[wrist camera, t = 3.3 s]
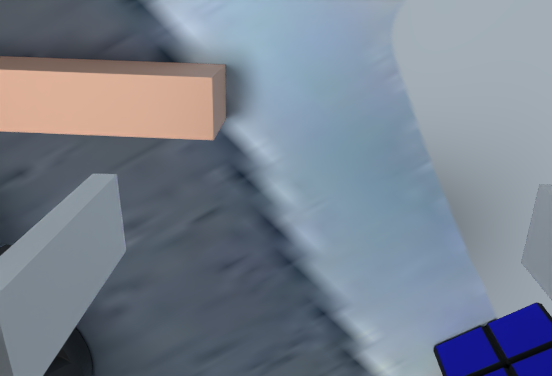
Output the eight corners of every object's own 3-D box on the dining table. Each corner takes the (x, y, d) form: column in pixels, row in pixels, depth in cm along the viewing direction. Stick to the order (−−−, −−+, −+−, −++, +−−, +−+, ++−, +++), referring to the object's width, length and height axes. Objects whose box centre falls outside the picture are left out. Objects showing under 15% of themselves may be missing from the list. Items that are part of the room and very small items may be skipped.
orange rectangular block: (226, 64, 35) (212, 77, 30) (226, 117, 37) (213, 140, 31) (-68, 53, 36) (-136, 64, 30) (-56, 106, 37) (-118, 126, 32)
